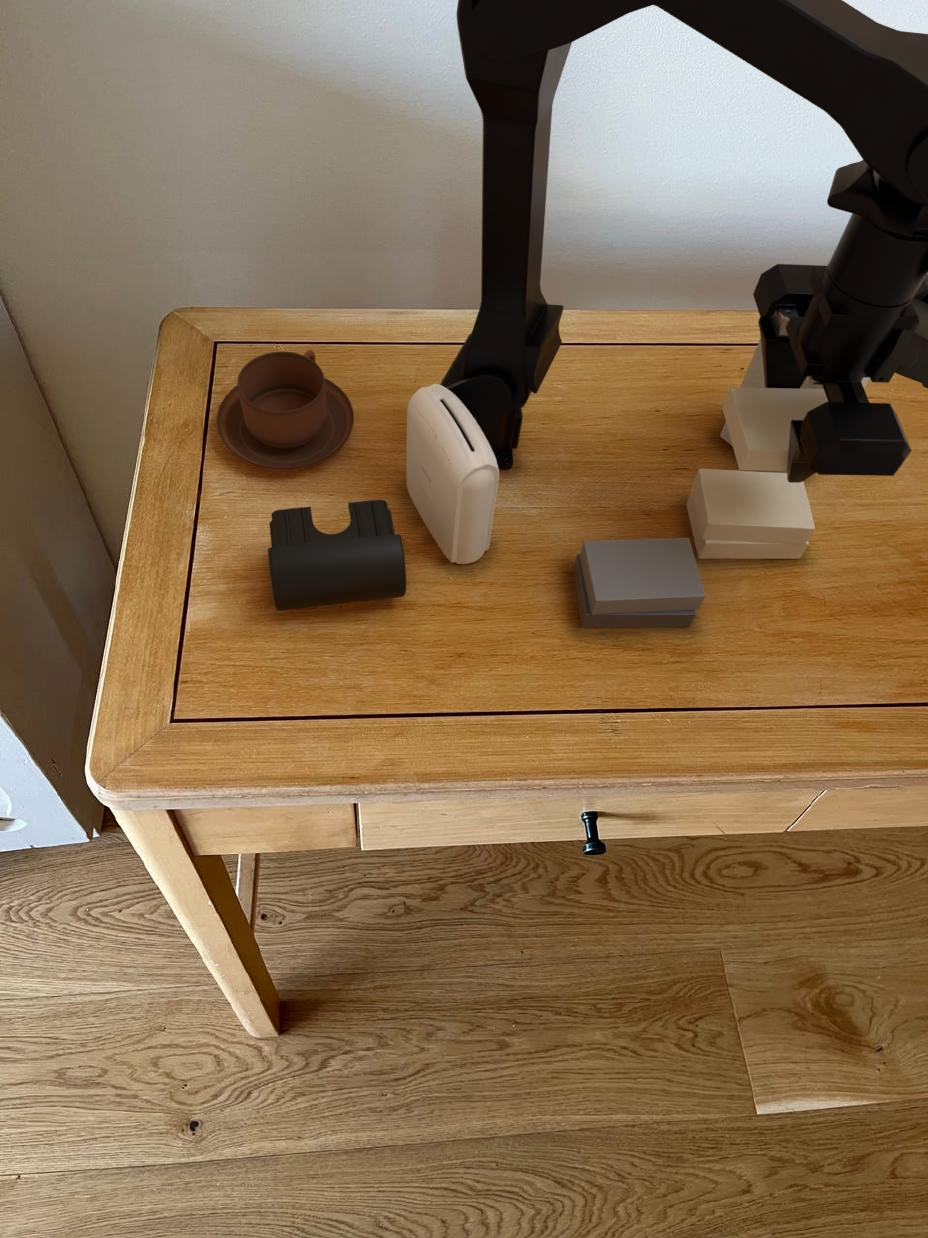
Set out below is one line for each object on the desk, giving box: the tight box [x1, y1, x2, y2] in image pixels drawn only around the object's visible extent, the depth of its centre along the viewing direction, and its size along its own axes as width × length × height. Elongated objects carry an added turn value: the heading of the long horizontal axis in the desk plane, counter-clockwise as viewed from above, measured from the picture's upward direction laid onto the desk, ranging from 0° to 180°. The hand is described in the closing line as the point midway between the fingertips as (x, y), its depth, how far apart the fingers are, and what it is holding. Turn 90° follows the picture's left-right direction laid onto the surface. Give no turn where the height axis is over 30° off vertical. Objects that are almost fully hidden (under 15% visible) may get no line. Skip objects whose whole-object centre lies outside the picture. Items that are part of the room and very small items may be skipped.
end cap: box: [267, 499, 407, 612], centre depth 72 cm, size 10×7×7 cm
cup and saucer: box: [216, 349, 355, 472], centre depth 81 cm, size 12×12×6 cm
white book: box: [721, 386, 828, 472], centre depth 71 cm, size 9×7×2 cm
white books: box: [686, 468, 816, 560], centre depth 80 cm, size 9×6×4 cm
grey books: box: [572, 537, 706, 629], centre depth 75 cm, size 9×6×4 cm
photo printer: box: [405, 383, 500, 565], centre depth 75 cm, size 10×4×12 cm, turn 26°
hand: (783, 447), depth 72 cm, fingers closed on white book, 6 cm apart
